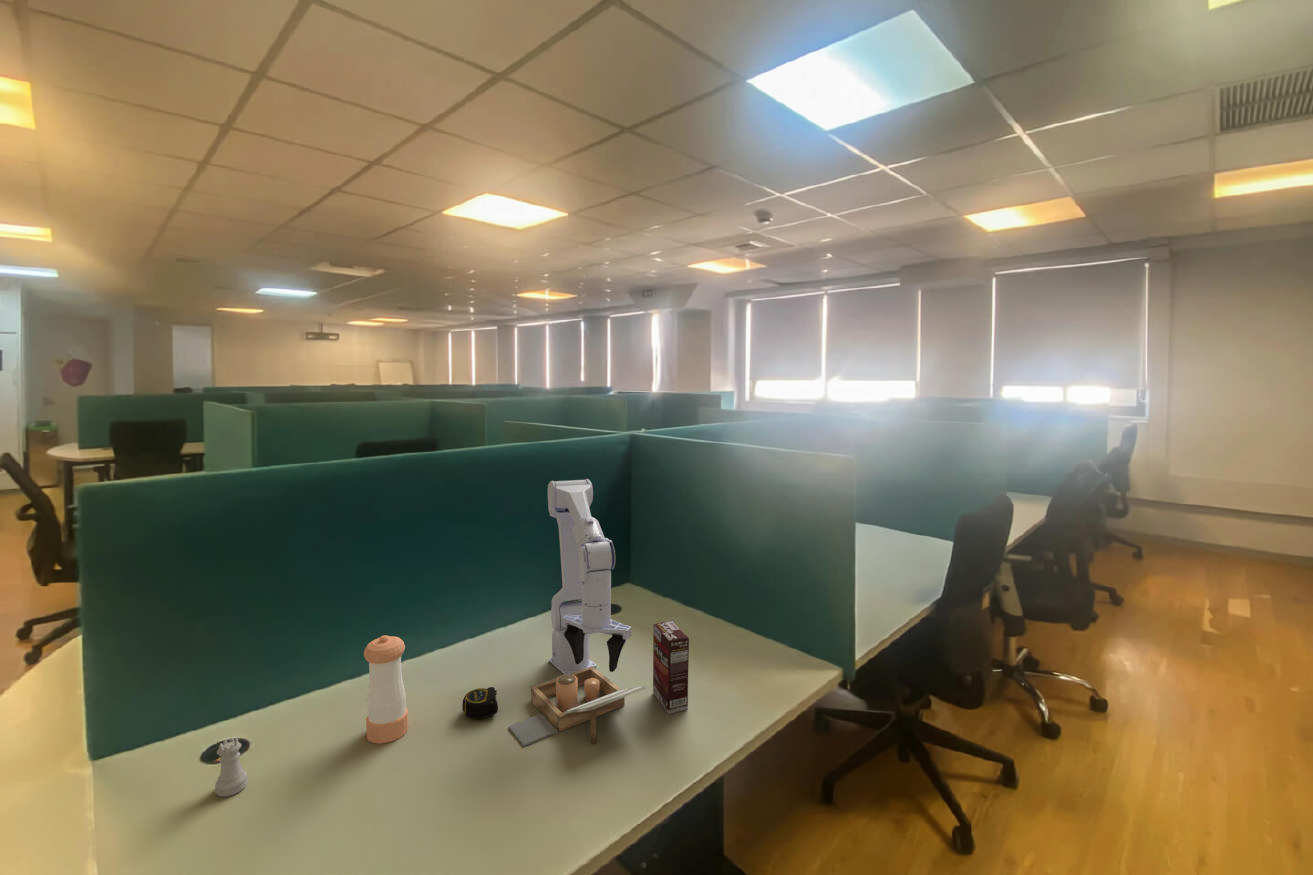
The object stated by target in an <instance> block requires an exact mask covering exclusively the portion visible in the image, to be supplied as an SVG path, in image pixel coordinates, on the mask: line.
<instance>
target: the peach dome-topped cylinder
mask: <svg viewBox="0 0 1313 875" xmlns="http://www.w3.org/2000/svg"><path fill="white" fill-rule="evenodd" d="M556 678H557V679H556ZM556 678H555V679H556V695H555V706H556V707H557V708H558V709H559V710H560V711H561V712H562V713H563V712H566V711H567V710H569V709H572V708H575V707H577V706H579V705H578V702H579V701H578V700H579V699H578V695H579V694H578V690H579V689H578V688H579V686H578V679H577V677H576V676H574V675H571V674H565V675H564V674H562V675H559V676H558V677H556Z"/></svg>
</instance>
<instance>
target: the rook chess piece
mask: <svg viewBox="0 0 1313 875" xmlns="http://www.w3.org/2000/svg"><path fill="white" fill-rule="evenodd" d="M241 747H242V743H240V742H239V739H238V738H237V737H236V738H235V739H234V737H233V738H230V739H229V741H228V740H227V739H226V740H224V741H222V743H220V744H219V745H218V749H217V751H216V754H217V755H218V756H220V758H219V760H218V762H219V763H220V771H219V772H220V774H219V775H218V777H217V780H216V782H215V784H214V787H215V788H214V793H215V794H216V795H217V796H218V797H220V798H228V797H231V796H235V795H237V794H238V793H240V792H242V791H243V790H244V789H245V788H246V786H247V785H248V783H249V778H248V772H247V771H245V770H244V768H243V767H242V766H241V762H240V756H241V752H239V750H240V749H241Z"/></svg>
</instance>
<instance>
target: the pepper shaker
mask: <svg viewBox="0 0 1313 875" xmlns="http://www.w3.org/2000/svg"><path fill="white" fill-rule="evenodd" d="M405 648H406V645H405V643H404V640H402V639H401V638H400V637H398V636H394V635H393V636H392V635H391V636H390V635H387V634H386V635H385V634H384V635H382V636H379V637H378V638H376V639H373V640H372V641H370V642H369V643H368V644H367V645H366V646H365V648H364V651H363V657H364V659H365V660H366V661H367V663H368V666H369V667H368V669H369V671H368V672H369V673H368V674H369V684H368V692H367V699H366V703H367V704H366V705H367V717H366V719H365V726H366V739H367V740H368V741H369V742H371V743H373V744H381V745H382V744H388V743H390V742H394V741H396V740H399V739H401V738H402V737H403V736H405V735H406V733H407V732H408V730H409V727H410V726H409V724H410V723H409V710H408V708H407V704H406V703H407V702H406V701H407V698H406V696H407V695H406V689H405V685H404V682H403V680H404V679H403V675H402V656H403V654H404V653H405Z"/></svg>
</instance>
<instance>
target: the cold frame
mask: <svg viewBox="0 0 1313 875" xmlns="http://www.w3.org/2000/svg"><path fill="white" fill-rule="evenodd" d="M571 675H574V676H576V677H577V679H578V687H581V686H583V685H584V682H585V680H587V679H590V678H595V679H598V680H599V691H601V692H602V693H603V694H604V696H601V697H600V696H599V698H598V699H595V700H593V701H590V702H588V701H586V702H585V703H582V704H580V705H578V706H577V707H575V708H572V709H569V710H567V711H566V712H563V713H562V712H561V711H560V710H559V709H558V708H557V707H556V704H554V703H553V702H552V701H551V700H550V699H549V698H550V697H552V696H556V679H557V678H558V677H556V678H553V679H551V680H548V681H544V682H543V683H538V684H536V685H534V686H531V687H530V702H531V703H533V705H534V706H535V707H536V708H537V709H538V710H539V711H540V712H541V713H542V714H543V716H544V717H545V718H546V719H547V720H548V721H549V722H550V723H551V724H552V725H553V726H554V727H555V728H556V729H557V730H558V731H559V732H564V731H566V730H568V729H571V728H572V727H575V726H578V725H580V724H582V723H585V722H588V721H590V744H592V745H595V744H596V743H597V717H600V716H602V715H605V714H607V713H609V712H612V711H613V710H616V709H618V708H621V707H623V706H625V700H626V699H625V698H626V697H628V696H630V695H633V694H635V693H638V692H640V691H643V690H646V686H645V685H643V686H637V687H631V688H626V689H622V688H621V687H620V686H618V685H617V684H615V683H614V682H613V681H612V680H611V679H610V678H608V677H607V676H605V675H604V674H603V673H602V672H600V671H599V670H598V669H597V668H596V667H595V668H594V667H593V666H591V667H588V668H585V669H582V670H579V671H576V672H574V673H571Z"/></svg>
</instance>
